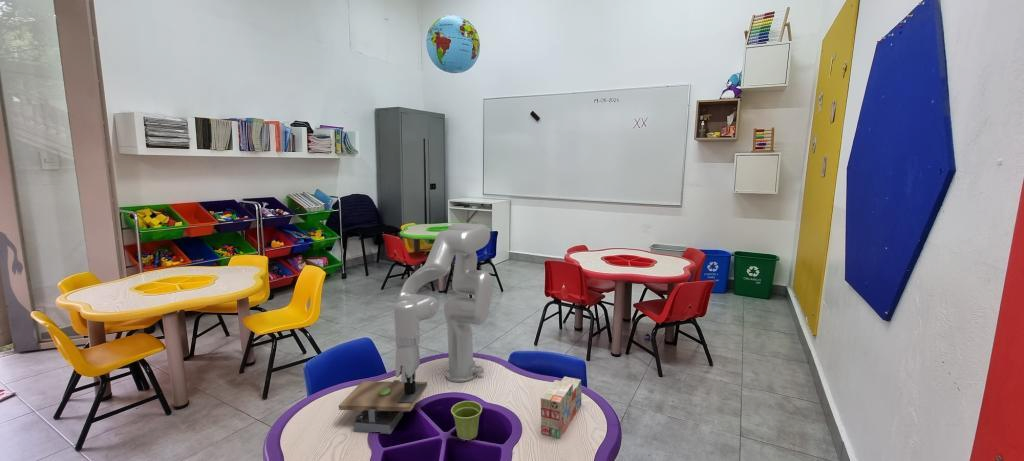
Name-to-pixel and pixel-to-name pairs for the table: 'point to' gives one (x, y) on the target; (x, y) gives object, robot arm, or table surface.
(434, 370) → the table surface
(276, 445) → the table surface
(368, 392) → the plate
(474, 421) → the plant pot
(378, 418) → the base
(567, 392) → the stack of blocks
